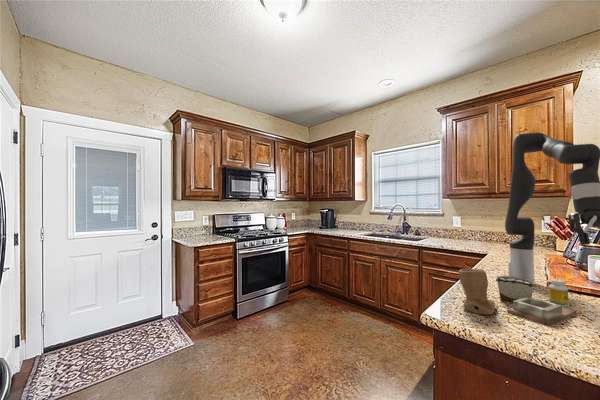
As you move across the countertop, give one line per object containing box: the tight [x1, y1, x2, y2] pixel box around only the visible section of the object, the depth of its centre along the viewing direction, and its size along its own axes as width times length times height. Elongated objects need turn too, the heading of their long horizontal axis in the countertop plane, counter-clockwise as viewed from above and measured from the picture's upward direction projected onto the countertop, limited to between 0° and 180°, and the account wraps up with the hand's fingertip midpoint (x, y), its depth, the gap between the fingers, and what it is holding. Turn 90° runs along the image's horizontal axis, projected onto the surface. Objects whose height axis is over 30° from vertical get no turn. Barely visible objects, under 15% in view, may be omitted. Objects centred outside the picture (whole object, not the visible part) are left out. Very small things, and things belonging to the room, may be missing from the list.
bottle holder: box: [506, 297, 578, 327], centre depth 94 cm, size 12×20×4 cm, turn 115°
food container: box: [495, 275, 536, 304], centre depth 106 cm, size 12×6×10 cm, turn 47°
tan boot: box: [458, 268, 496, 315], centre depth 100 cm, size 15×12×15 cm
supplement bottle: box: [548, 278, 570, 308], centre depth 102 cm, size 5×5×10 cm
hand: (598, 245), depth 85 cm, fingers open, 8 cm apart
